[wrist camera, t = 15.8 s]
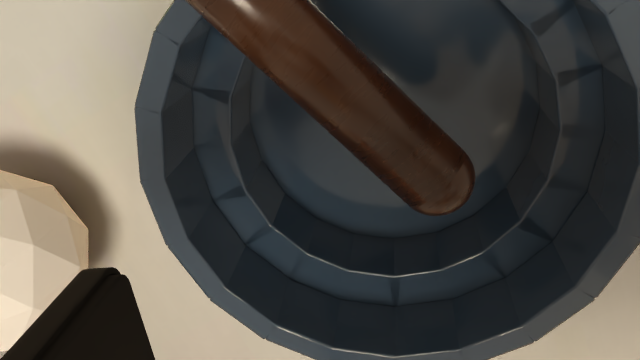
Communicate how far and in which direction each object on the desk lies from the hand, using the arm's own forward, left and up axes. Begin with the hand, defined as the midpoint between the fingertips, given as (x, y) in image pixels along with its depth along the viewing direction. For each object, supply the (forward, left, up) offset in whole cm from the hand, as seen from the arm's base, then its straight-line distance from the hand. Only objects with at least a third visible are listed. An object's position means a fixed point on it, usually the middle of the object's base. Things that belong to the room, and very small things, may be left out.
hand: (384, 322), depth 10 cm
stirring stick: (-2, -1, -6) cm, 6 cm away
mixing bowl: (0, 0, -12) cm, 12 cm away
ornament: (+12, +11, -13) cm, 21 cm away
